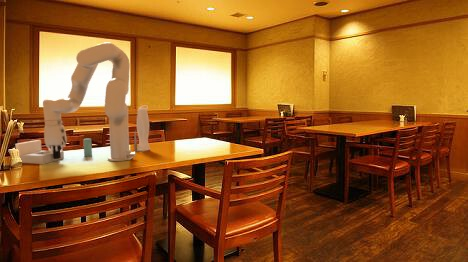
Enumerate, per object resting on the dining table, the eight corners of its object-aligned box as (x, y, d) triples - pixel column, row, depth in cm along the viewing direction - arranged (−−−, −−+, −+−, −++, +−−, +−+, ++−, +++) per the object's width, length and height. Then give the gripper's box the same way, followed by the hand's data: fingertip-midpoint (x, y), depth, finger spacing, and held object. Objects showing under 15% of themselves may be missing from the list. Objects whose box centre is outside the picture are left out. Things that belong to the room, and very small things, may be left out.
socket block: (64, 158, 173) (63, 151, 172) (43, 163, 159) (42, 155, 159) (42, 157, 176) (41, 150, 175) (20, 162, 162) (19, 155, 162)
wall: (42, 157, 176) (40, 140, 175) (20, 163, 162) (18, 143, 161) (39, 157, 176) (37, 140, 175) (17, 163, 163) (15, 143, 161)
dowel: (93, 156, 180) (92, 138, 179) (89, 157, 176) (88, 139, 175) (87, 155, 181) (86, 138, 180) (82, 157, 177) (81, 139, 176)
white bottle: (144, 148, 203) (142, 104, 200) (153, 150, 198) (151, 105, 195) (133, 150, 196) (131, 105, 193) (142, 152, 191) (140, 105, 188)
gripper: (71, 122, 165) (74, 157, 167) (46, 122, 168) (50, 156, 170) (60, 123, 158) (64, 160, 160) (35, 124, 161) (39, 159, 163)
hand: (57, 158), depth 165 cm, fingers closed
